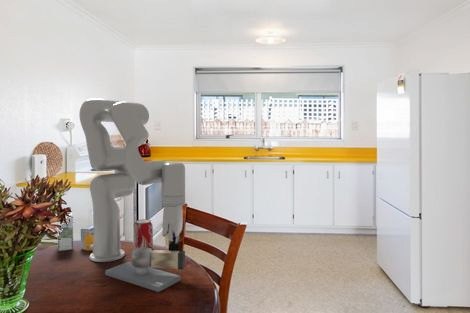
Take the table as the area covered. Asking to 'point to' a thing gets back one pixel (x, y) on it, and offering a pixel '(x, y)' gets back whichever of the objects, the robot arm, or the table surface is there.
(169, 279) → the mount plate
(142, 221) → the soda can
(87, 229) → the medicine box
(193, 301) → the table surface
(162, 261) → the lever handle
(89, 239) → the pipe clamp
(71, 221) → the syrup box
